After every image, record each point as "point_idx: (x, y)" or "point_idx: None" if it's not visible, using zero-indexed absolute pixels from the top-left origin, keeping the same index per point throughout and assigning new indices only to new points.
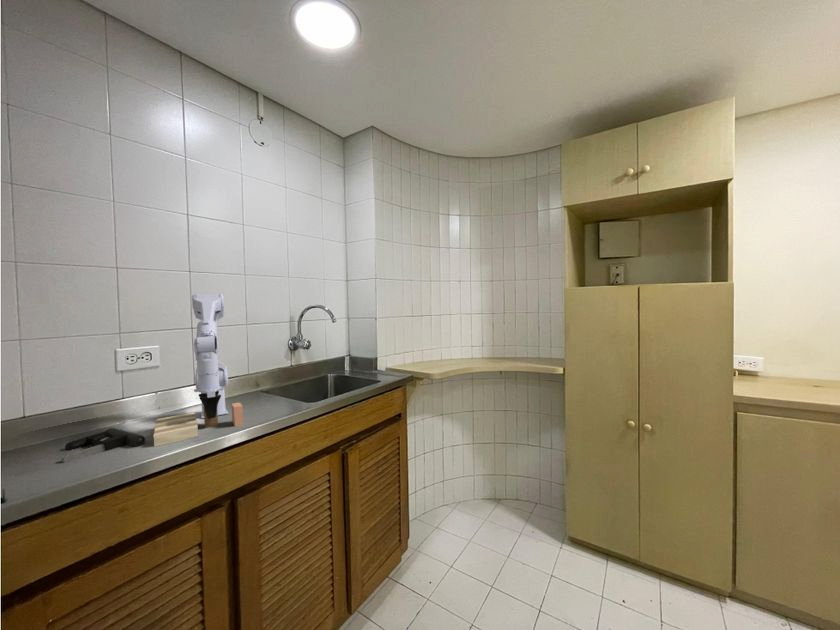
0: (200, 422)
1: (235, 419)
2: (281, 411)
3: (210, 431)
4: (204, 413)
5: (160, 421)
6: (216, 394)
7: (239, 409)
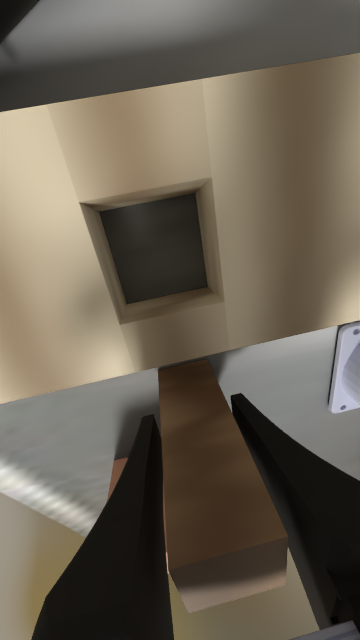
0: None
1: (109, 492)
2: None
3: (86, 398)
4: (178, 420)
5: (296, 105)
6: (307, 590)
7: None
